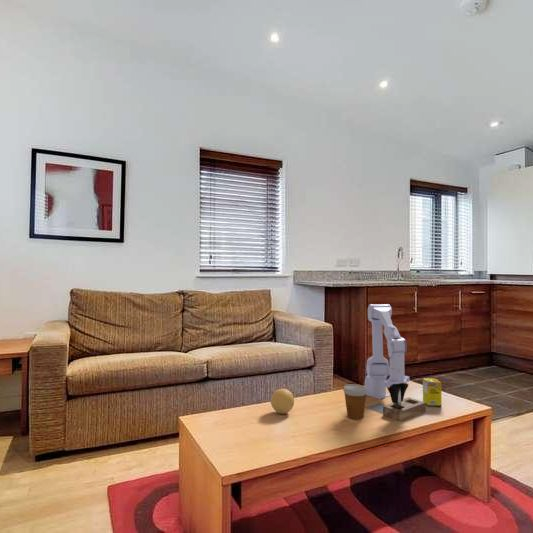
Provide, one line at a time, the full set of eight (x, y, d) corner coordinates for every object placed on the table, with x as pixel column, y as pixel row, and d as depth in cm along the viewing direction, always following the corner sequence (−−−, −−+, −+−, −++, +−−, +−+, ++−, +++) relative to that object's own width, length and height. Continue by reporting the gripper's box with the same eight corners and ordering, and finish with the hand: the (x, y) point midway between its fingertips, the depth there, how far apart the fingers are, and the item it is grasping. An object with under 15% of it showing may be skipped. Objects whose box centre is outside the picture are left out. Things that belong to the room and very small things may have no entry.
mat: (365, 408, 162) (365, 407, 162) (379, 403, 168) (379, 402, 168) (382, 414, 155) (382, 413, 155) (397, 409, 161) (397, 408, 161)
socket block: (383, 415, 153) (383, 406, 153) (408, 406, 164) (408, 397, 164) (400, 422, 147) (400, 411, 147) (425, 411, 157) (425, 402, 157)
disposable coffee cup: (370, 421, 147) (370, 391, 148) (346, 421, 147) (346, 391, 148) (363, 412, 157) (363, 383, 157) (341, 412, 157) (341, 383, 157)
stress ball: (290, 420, 151) (303, 400, 157) (275, 404, 149) (288, 384, 154) (276, 416, 160) (289, 397, 165) (262, 401, 157) (275, 382, 162)
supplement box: (441, 407, 163) (441, 382, 163) (428, 407, 163) (427, 382, 163) (436, 402, 169) (435, 378, 169) (422, 402, 169) (422, 378, 169)
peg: (392, 409, 153) (391, 386, 153) (396, 407, 154) (396, 385, 155) (398, 411, 150) (397, 388, 151) (402, 409, 152) (402, 387, 152)
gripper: (394, 373, 145) (395, 408, 145) (416, 367, 154) (416, 400, 153) (379, 369, 151) (379, 403, 151) (401, 364, 159) (401, 396, 159)
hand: (397, 401), depth 152 cm, fingers closed on peg, 3 cm apart
